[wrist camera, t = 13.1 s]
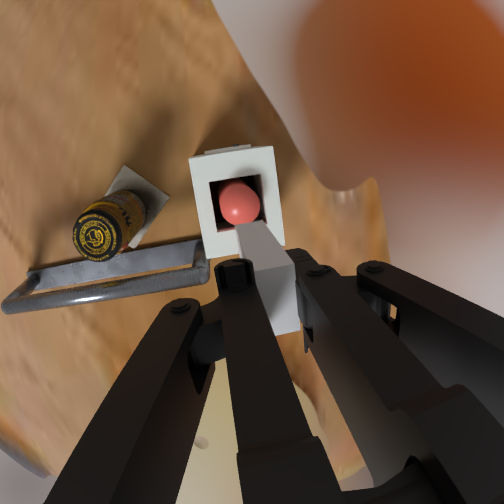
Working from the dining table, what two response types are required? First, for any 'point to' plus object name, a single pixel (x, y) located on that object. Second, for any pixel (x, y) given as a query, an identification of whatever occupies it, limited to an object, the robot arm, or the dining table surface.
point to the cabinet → (231, 166)
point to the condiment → (118, 217)
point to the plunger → (238, 201)
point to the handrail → (114, 267)
